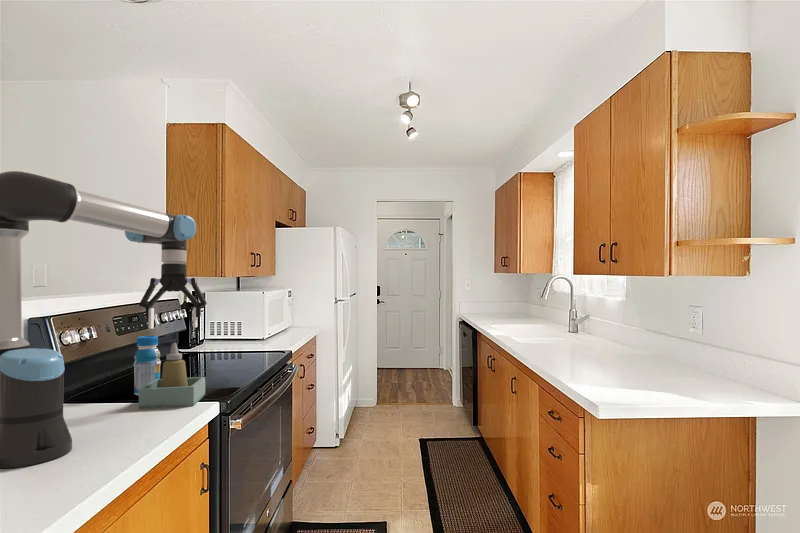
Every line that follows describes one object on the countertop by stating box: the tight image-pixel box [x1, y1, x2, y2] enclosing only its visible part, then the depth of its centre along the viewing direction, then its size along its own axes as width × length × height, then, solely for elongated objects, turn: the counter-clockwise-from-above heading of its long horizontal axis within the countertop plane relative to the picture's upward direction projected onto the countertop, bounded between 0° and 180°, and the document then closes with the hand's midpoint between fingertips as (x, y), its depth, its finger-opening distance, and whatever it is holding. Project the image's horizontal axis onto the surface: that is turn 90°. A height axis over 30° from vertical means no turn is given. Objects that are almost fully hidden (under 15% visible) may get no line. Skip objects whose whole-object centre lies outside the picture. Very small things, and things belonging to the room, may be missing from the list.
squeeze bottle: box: [161, 342, 188, 388], centre depth 156 cm, size 8×8×18 cm
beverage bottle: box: [133, 335, 162, 396], centre depth 169 cm, size 8×8×20 cm
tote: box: [138, 376, 206, 409], centre depth 156 cm, size 16×16×6 cm
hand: (173, 327), depth 156 cm, fingers open, 13 cm apart
